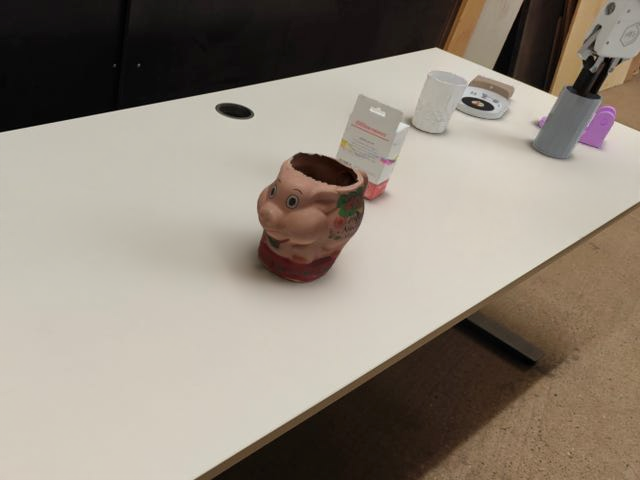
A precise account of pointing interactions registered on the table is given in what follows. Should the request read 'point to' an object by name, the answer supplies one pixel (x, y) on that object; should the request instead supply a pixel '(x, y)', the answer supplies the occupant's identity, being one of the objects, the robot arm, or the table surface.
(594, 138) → the bracket
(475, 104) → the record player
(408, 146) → the table surface
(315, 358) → the table surface
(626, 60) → the robot arm
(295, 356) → the table surface
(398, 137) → the ink cartridge box
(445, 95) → the white cup
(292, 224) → the decorative planter
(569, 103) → the grey cylindrical holder
